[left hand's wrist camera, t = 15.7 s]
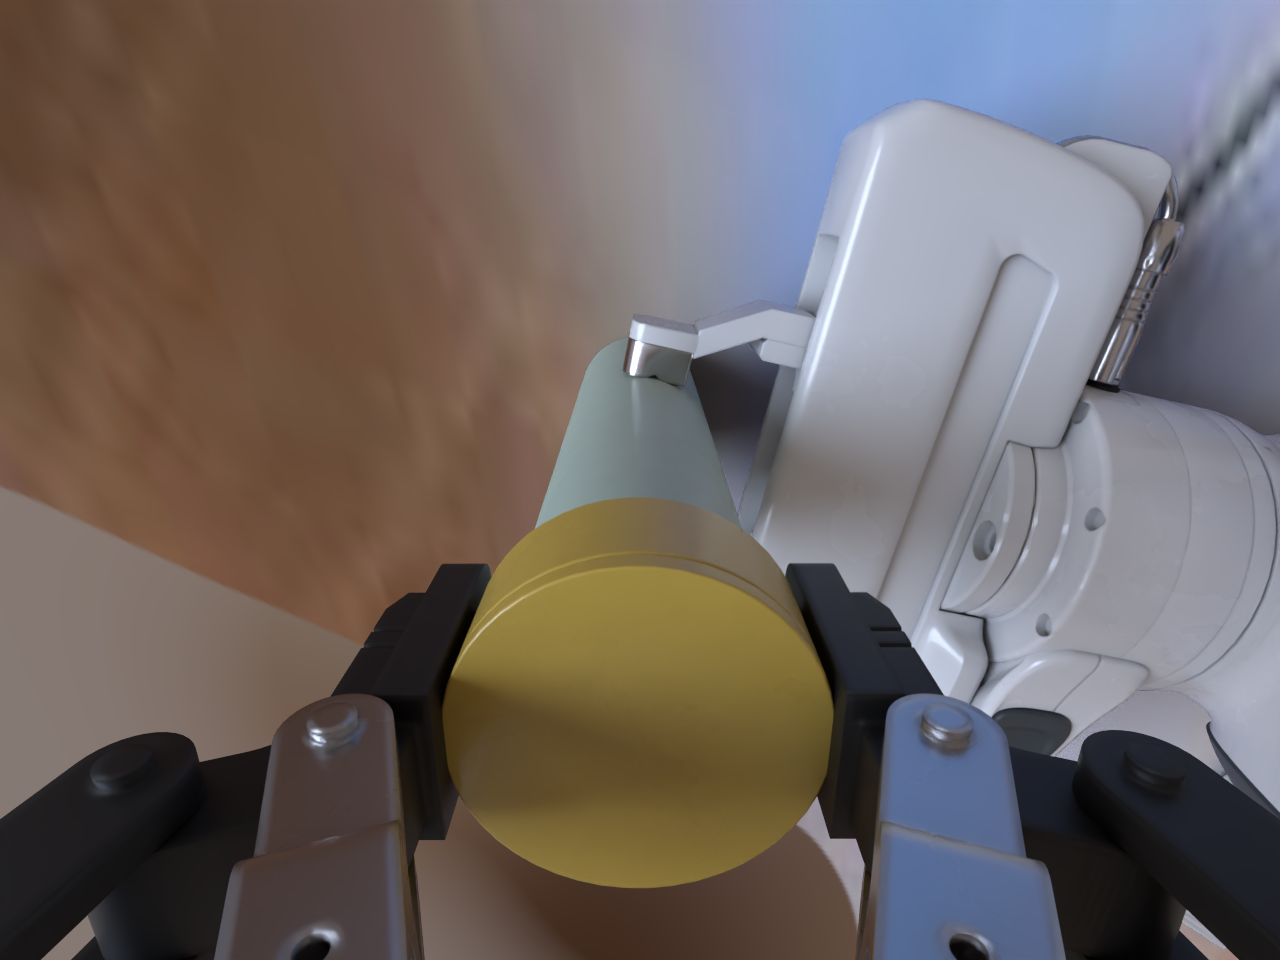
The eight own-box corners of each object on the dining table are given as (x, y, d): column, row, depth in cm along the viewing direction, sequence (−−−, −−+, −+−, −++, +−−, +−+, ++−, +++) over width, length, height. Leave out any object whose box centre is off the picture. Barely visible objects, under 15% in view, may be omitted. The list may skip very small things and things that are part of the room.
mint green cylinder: (686, 327, 26) (780, 554, 9) (700, 436, 27) (804, 813, 10) (573, 345, 26) (449, 600, 9) (593, 452, 28) (519, 847, 10)
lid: (437, 528, 10) (388, 604, 8) (780, 467, 10) (815, 532, 8) (521, 793, 12) (496, 911, 10) (816, 748, 12) (853, 862, 10)
